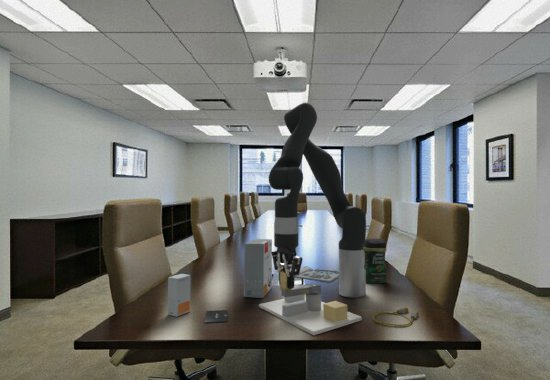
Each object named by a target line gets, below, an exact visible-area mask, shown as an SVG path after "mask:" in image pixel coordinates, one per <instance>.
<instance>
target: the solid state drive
mask: <svg viewBox="0 0 550 380" xmlns="http://www.w3.org/2000/svg"><path fill="white" fill-rule="evenodd" d="M228 322H229V310H228V309H219V310H216V309H215V310H206V312H205V317H204V324H215V323H216V324H218V323H228Z"/></svg>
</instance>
